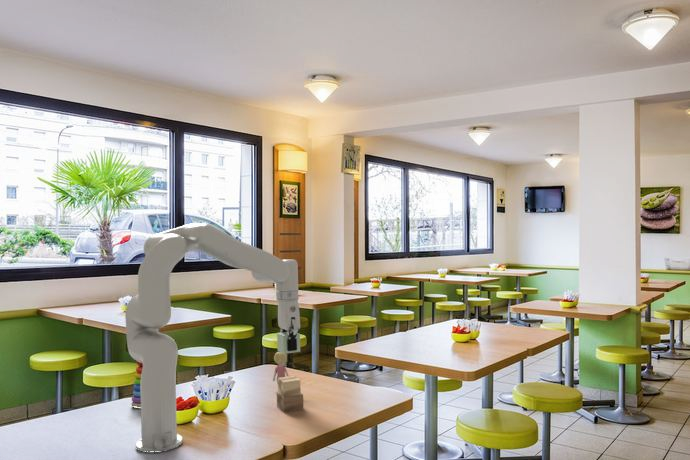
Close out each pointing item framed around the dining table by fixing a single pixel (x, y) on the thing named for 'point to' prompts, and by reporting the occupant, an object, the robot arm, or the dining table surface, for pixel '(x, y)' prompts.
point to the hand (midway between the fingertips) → (288, 348)
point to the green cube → (283, 343)
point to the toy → (280, 365)
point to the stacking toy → (137, 386)
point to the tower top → (289, 386)
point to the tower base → (290, 403)
